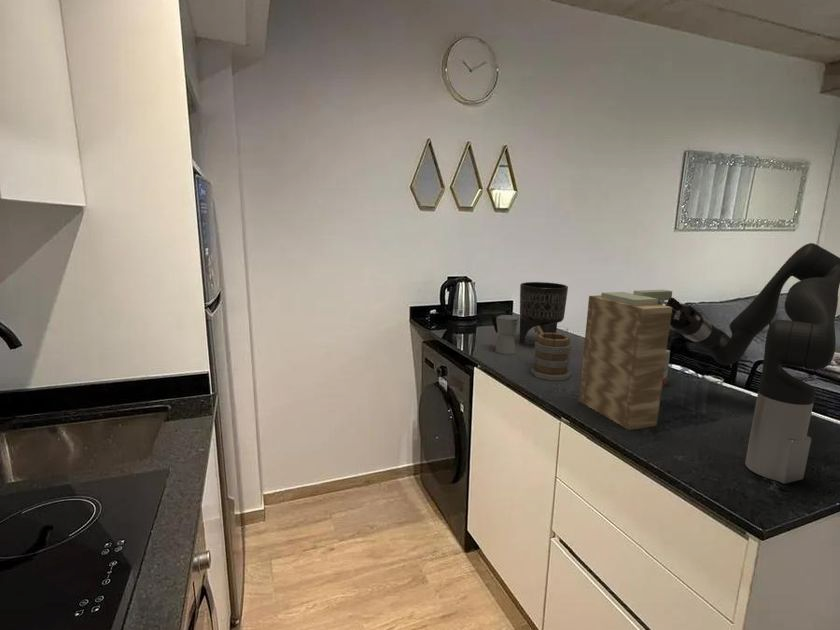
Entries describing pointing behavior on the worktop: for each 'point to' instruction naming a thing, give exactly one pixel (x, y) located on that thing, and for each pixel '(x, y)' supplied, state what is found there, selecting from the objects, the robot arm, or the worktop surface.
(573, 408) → the worktop surface
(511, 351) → the coffee maker
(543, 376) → the tankard
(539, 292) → the planter
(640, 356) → the wooden crate
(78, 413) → the worktop surface
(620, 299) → the sage mallet
